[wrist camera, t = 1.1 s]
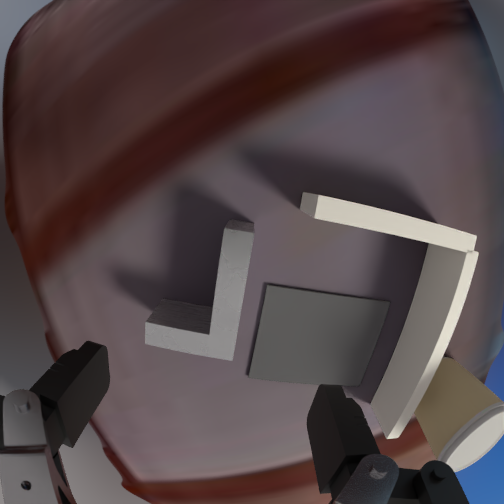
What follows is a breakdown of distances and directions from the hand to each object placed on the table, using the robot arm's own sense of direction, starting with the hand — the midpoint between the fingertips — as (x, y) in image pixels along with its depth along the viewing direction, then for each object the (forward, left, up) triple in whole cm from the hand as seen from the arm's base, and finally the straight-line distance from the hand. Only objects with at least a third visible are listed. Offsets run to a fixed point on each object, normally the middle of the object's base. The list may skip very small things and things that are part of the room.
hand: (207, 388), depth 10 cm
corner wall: (+3, +12, -16) cm, 20 cm away
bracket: (+1, -2, -16) cm, 16 cm away
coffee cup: (+11, +26, -16) cm, 33 cm away
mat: (+6, +9, -16) cm, 19 cm away
